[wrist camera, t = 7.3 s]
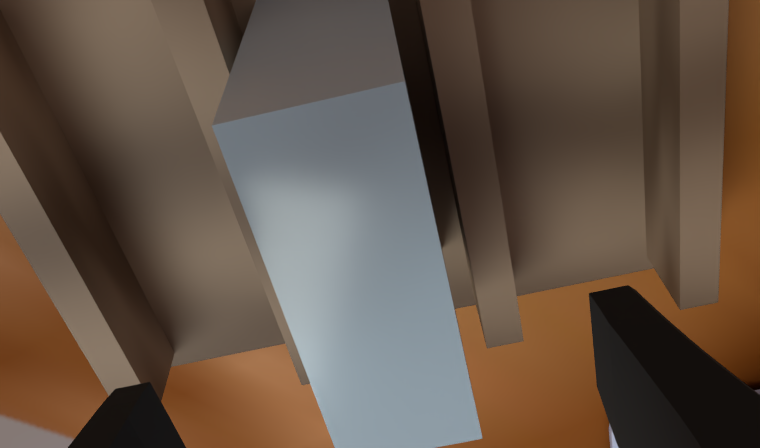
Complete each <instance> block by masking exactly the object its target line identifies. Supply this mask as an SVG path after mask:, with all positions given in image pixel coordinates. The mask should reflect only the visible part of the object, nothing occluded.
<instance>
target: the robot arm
mask: <svg viewBox="0 0 760 448" xmlns="http://www.w3.org/2000/svg"><path fill="white" fill-rule="evenodd" d="M589 300H590V311H591V323H592V334H593V346H594V357H595V368H596V380H597V387H598V390H599V393H600V396H601V399H602V402H603V405H604V408H605V411H606V414H607V417H608V420H609V423H610V424H609V436H610V448H760V389H758V390H753V389H752V388H750V387H749V386H748V385H746V384H745V383H744V382H743V381H741V380H740V379H739V378H737V377H736V376H735V375H733V374H732V373H731V372H730V371H728V370H727V369H726V368H725V367H723V366H722V365H721V364H720V363H718V362H717V361H716V360H715V359H713V358H712V357H711V356H710V355H708V354H707V353H706V352H705V351H703V350H702V349H701V348H700V347H699V346H697V345H696V344H695V343H694V342H693V341H691V340H690V339H689V338H688V337H687V336H686V335H684V334H683V333H682V332H681V331H680V330H679V329H678V328H676V327H675V326H674V325H673V324H672V323H671V322H670V321H668V320H667V319H666V318H665V317H664V316H663V315H662V314H661V313H660V312H658V311H657V310H656V309H655V308H654V307H653V306H652V305H651V304H650V303H649V302H648V301H647V300H646V299H644V298H643V297H642V296H641V295H640V294H639V293H638V292H637V291H636V290H635V289H633V288H632V287H630V286H628V285H627V286H622V287H617V288H612V289H607V290H603V291H598V292H593V293H589ZM68 448H186V447H185V445H184V443H183V441H182V440H181V438H180V436H179V434H178V432H177V430H176V429H175V427H174V425H173V423H172V421H171V419H170V417H169V416H168V414H167V412H166V410H165V408H164V406H163V405H162V403H161V401H160V399H159V397H158V395H157V394H156V392H155V390H154V388H153V386H152V384H151V383H150V382H147V383H142V384H137V385H132V386H127V387H122V388H117V389H115V390H114V391H113V392H112V393H111V394H110V395H109V397H108V398H107V399H106V400H105V401H104V403H103V404H102V405H101V406H100V407H99V409H98V410H97V411H96V412H95V414H94V415H93V416H92V417H91V419H90V420H89V421H88V423H87V424H86V425H85V426H84V428H83V429H82V430H81V432H80V433H79V434H78V435H77V437H76V438H75V439H74V441H73V442H72V443H71V444H70V446H69V447H68Z"/></svg>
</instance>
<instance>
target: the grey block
mask: <svg viewBox="0 0 760 448" xmlns="http://www.w3.org/2000/svg"><path fill="white" fill-rule="evenodd" d="M212 128H213V130H214V133H215V136H216V138H217V141H218V144H219V146H220V149H221V151H222V154H223V157H224V159H225V162H226V164H227V167H228V170H229V172H230V175H231V177H232V180H233V183H234V185H235V188H236V191H237V193H238V196H239V198H240V201H241V204H242V206H243V209H244V211H245V214H246V217H247V219H248V222H249V225H250V227H251V230H252V232H253V235H254V238H255V240H256V243H257V245H258V248H259V251H260V253H261V256H262V258H263V261H264V264H265V266H266V269H267V272H268V274H269V277H270V279H271V282H272V285H273V287H274V290H275V292H276V295H277V298H278V300H279V303H280V306H281V308H282V311H283V313H284V316H285V319H286V321H287V324H288V326H289V329H290V332H291V334H292V337H293V339H294V342H295V345H296V347H297V350H298V353H299V355H300V358H301V360H302V363H303V366H304V368H305V371H306V373H307V376H308V379H309V381H310V384H311V387H312V389H313V392H314V394H315V397H316V400H317V402H318V405H319V407H320V410H321V413H322V415H323V418H324V420H325V423H326V426H327V428H328V431H329V434H330V436H331V439H332V441H333V444H334V447H335V448H435V447H440V446H446V445H451V444H456V443H462V442H467V441H472V440H477V439H482V434H481V429H480V425H479V420H478V415H477V410H476V406H475V401H474V396H473V392H472V387H471V382H470V377H469V373H468V368H467V363H466V359H465V354H464V349H463V344H462V340H461V335H460V330H459V326H458V321H457V316H456V311H455V307H454V302H453V297H452V293H451V288H450V283H449V278H448V274H447V269H446V264H445V260H444V255H443V250H442V246H441V241H440V236H439V232H438V227H437V222H436V218H435V213H434V209H433V204H432V199H431V195H430V190H429V186H428V181H427V176H426V172H425V167H424V162H423V158H422V153H421V149H420V144H419V139H418V135H417V130H416V125H415V121H414V116H413V112H412V107H411V102H410V98H409V93H408V89H407V84H406V79H405V75H404V70H403V65H402V61H401V56H400V52H399V47H398V42H397V38H396V33H395V29H394V24H393V19H392V15H391V10H390V5H389V1H388V0H256V2H255V5H254V7H253V10H252V13H251V16H250V19H249V21H248V24H247V27H246V30H245V33H244V36H243V38H242V41H241V44H240V47H239V50H238V53H237V55H236V58H235V61H234V64H233V67H232V70H231V72H230V75H229V78H228V81H227V84H226V87H225V89H224V92H223V95H222V98H221V101H220V103H219V106H218V109H217V112H216V115H215V118H214V120H213V123H212Z"/></svg>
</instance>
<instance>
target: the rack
mask: <svg viewBox="0 0 760 448" xmlns="http://www.w3.org/2000/svg"><path fill="white" fill-rule="evenodd" d="M388 1H389V5H390V10H391V15H392V19H393V24H394V29H395V33H396V38H397V42H398V47H399V52H400V56H401V61H402V65H403V70H404V75H405V79H406V84H407V89H408V93H409V98H410V102H411V107H412V112H413V116H414V121H415V125H416V130H417V135H418V139H419V144H420V149H421V153H422V158H423V162H424V167H425V172H426V176H427V181H428V186H429V190H430V195H431V199H432V204H433V209H434V213H435V218H436V222H437V227H438V232H439V236H440V241H441V246H442V250H443V255H444V260H445V264H446V269H447V274H448V278H449V283H450V288H451V293H452V297H453V302H454V307H455V309H456V308H461V307H466V306H471V305H476V306H477V310H478V314H479V318H480V322H481V326H482V330H483V334H484V338H485V342H486V346H487V348H491V347H496V346H501V345H506V344H511V343H516V342H521V341H524V340H523V334H522V328H521V321H520V315H519V308H518V302H517V296H520V295H525V294H530V293H535V292H540V291H544V290H549V289H554V288H559V287H564V286H569V285H574V284H579V283H584V282H589V281H593V280H598V279H603V278H608V277H613V276H618V275H623V274H628V273H633V272H638V271H642V270H647V269H652V268H654V269H655V270H656V272H657V274H658V275H659V277H660V278H661V280H662V282H663V283H664V285H665V286H666V288H667V290H668V291H669V293H670V294H671V296H672V298H673V299H674V301H675V303H676V304H677V306H678V307H679V309H680V310H682V309H687V308H692V307H697V306H702V305H707V304H712V303H717V302H718V293H719V264H720V236H721V208H722V179H723V151H724V123H725V95H726V66H727V38H728V10H729V0H388ZM255 2H256V0H0V214H1V216H2V218H3V219H4V221H5V223H6V224H7V226H8V228H9V229H10V231H11V233H12V234H13V236H14V238H15V239H16V241H17V243H18V244H19V246H20V248H21V249H22V251H23V253H24V254H25V256H26V258H27V259H28V261H29V263H30V264H31V266H32V268H33V269H34V271H35V273H36V274H37V276H38V278H39V280H40V281H41V283H42V285H43V286H44V288H45V290H46V291H47V293H48V295H49V296H50V298H51V300H52V301H53V303H54V305H55V306H56V308H57V310H58V311H59V313H60V315H61V316H62V318H63V320H64V321H65V323H66V325H67V326H68V328H69V330H70V331H71V333H72V335H73V336H74V338H75V340H76V341H77V343H78V345H79V346H80V348H81V350H82V351H83V353H84V355H85V356H86V358H87V360H88V361H89V363H90V365H91V366H92V368H93V370H94V371H95V373H96V375H97V377H98V378H99V380H100V382H101V383H102V385H103V387H104V388H105V390H106V392H107V393H108V395H110V394H111V393H112V392H113V391H114V390H115V389H117V388H122V387H127V386H132V385H137V384H142V383H147V382H150V383H151V384H152V386H153V388H154V390H155V392H156V394H157V395H158V397H159V399H160V401H161V400H162V396H163V393H164V389H165V386H166V382H167V378H168V375H169V371H170V368H171V367H172V366H177V365H182V364H187V363H192V362H197V361H202V360H206V359H211V358H216V357H221V356H226V355H231V354H236V353H241V352H246V351H251V350H255V349H260V348H265V347H270V346H275V345H280V344H286V346H287V349H288V351H289V354H290V356H291V359H292V361H293V364H294V366H295V369H296V372H297V374H298V377H299V379H300V382H301V384H302V385H305V384H310V381H309V379H308V376H307V373H306V371H305V368H304V366H303V363H302V360H301V358H300V355H299V353H298V350H297V347H296V345H295V342H294V339H293V337H292V334H291V332H290V329H289V326H288V324H287V321H286V319H285V316H284V313H283V311H282V308H281V306H280V303H279V300H278V298H277V295H276V292H275V290H274V287H273V285H272V282H271V279H270V277H269V274H268V272H267V269H266V266H265V264H264V261H263V258H262V256H261V253H260V251H259V248H258V245H257V243H256V240H255V238H254V235H253V232H252V230H251V227H250V225H249V222H248V219H247V217H246V214H245V211H244V209H243V206H242V204H241V201H240V198H239V196H238V193H237V191H236V188H235V185H234V183H233V180H232V177H231V175H230V172H229V170H228V167H227V164H226V162H225V159H224V157H223V154H222V151H221V149H220V146H219V144H218V141H217V138H216V136H215V133H214V130H213V128H212V123H213V120H214V118H215V115H216V112H217V109H218V106H219V103H220V101H221V98H222V95H223V92H224V89H225V87H226V84H227V81H228V78H229V75H230V72H231V70H232V67H233V64H234V61H235V58H236V55H237V53H238V50H239V47H240V44H241V41H242V38H243V36H244V33H245V30H246V27H247V24H248V21H249V19H250V16H251V13H252V10H253V7H254V5H255Z"/></svg>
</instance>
